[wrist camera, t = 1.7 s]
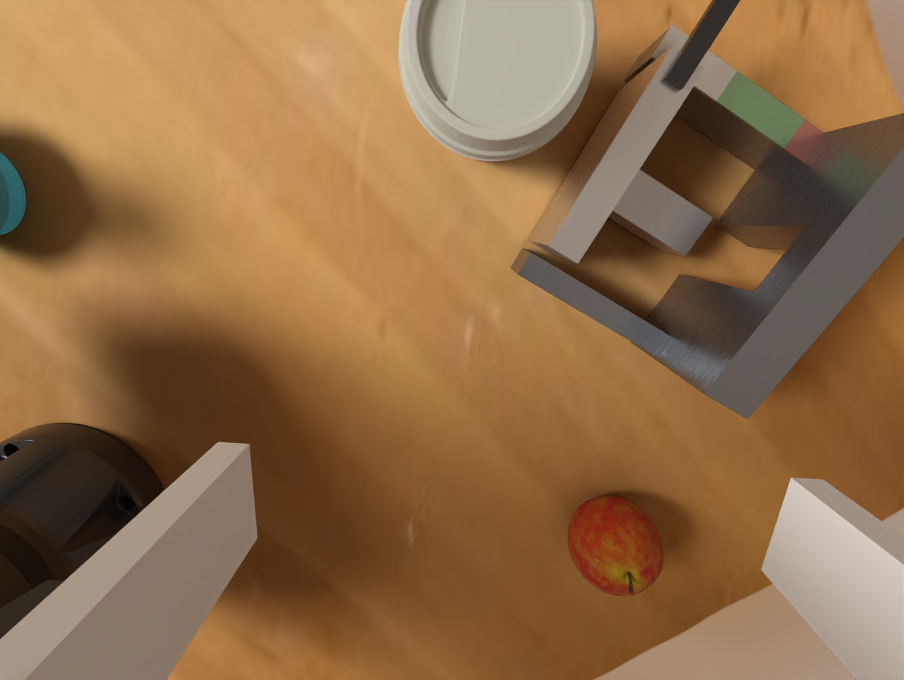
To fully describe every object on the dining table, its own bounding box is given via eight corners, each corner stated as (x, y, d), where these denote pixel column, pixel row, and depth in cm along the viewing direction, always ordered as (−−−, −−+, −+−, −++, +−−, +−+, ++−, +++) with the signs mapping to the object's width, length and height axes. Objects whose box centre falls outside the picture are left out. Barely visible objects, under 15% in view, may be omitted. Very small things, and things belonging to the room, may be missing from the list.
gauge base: (509, 270, 31) (531, 292, 21) (641, 52, 27) (743, -43, 17) (661, 360, 32) (747, 419, 23) (807, 168, 28) (986, 141, 19)
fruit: (620, 465, 35) (665, 534, 27) (651, 526, 37) (702, 608, 29) (545, 499, 36) (568, 574, 28) (579, 557, 38) (609, 643, 30)
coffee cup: (477, 7, 26) (491, -162, 15) (574, 104, 28) (656, 20, 16) (394, 122, 28) (348, 52, 17) (488, 207, 29) (507, 198, 18)
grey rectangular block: (528, 240, 30) (549, 245, 23) (648, 42, 26) (717, -24, 19) (630, 302, 31) (681, 326, 24) (758, 120, 27) (863, 84, 20)
